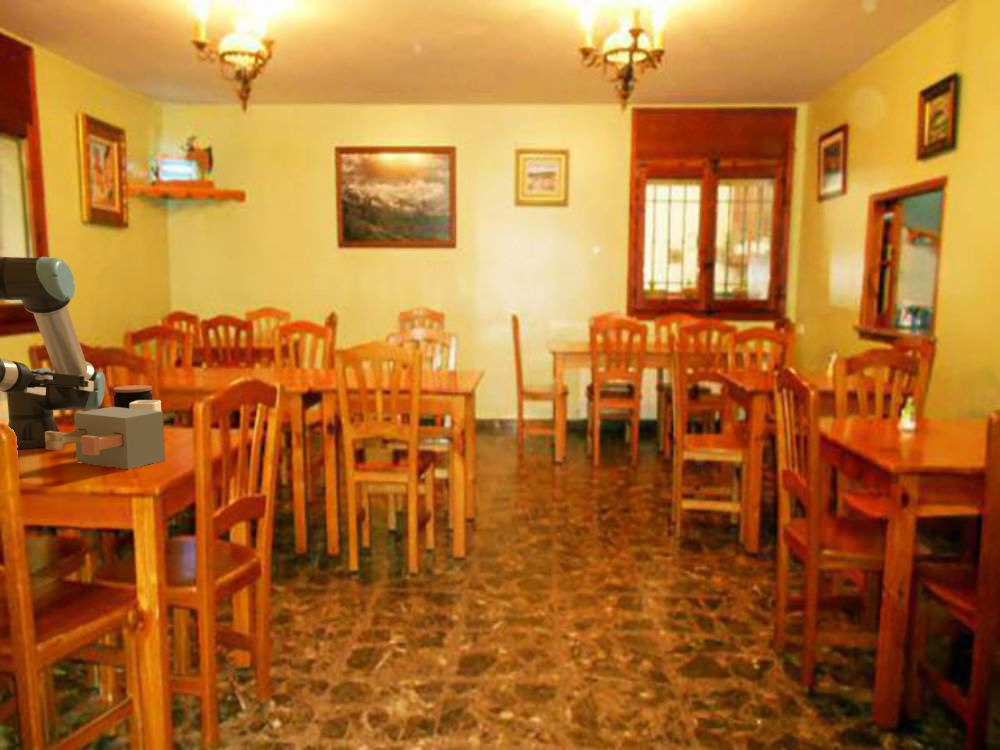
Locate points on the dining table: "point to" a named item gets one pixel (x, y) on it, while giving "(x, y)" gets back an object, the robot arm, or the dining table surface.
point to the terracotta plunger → (100, 443)
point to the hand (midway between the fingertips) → (68, 388)
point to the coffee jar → (131, 394)
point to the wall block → (138, 436)
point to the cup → (146, 405)
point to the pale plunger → (63, 438)
